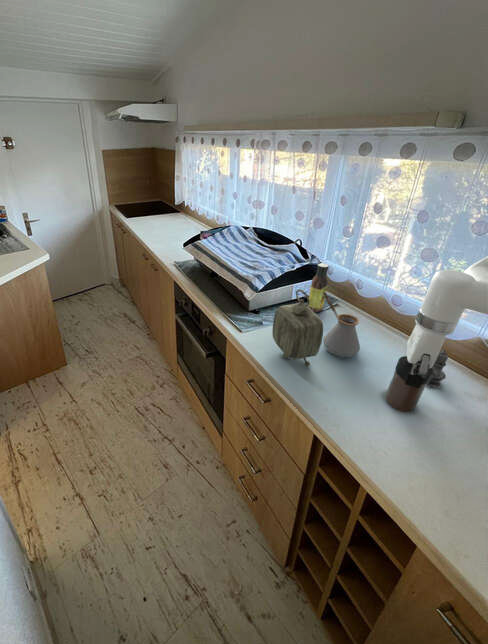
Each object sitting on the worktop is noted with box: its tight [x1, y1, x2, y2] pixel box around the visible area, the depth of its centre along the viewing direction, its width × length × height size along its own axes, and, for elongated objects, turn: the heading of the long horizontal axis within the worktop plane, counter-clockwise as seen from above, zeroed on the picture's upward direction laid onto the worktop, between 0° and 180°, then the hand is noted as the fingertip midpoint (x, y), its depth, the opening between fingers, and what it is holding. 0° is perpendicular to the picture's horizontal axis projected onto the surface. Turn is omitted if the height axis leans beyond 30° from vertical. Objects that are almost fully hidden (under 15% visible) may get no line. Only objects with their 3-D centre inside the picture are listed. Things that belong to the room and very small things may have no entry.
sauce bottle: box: [306, 262, 330, 313], centre depth 125 cm, size 6×6×20 cm
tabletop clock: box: [271, 289, 324, 367], centre depth 97 cm, size 14×9×25 cm, turn 13°
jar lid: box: [394, 355, 433, 385], centre depth 80 cm, size 8×8×3 cm
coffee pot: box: [320, 291, 361, 358], centre depth 106 cm, size 21×12×15 cm, turn 9°
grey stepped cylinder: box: [426, 349, 449, 388], centre depth 90 cm, size 6×6×12 cm
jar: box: [384, 369, 427, 413], centre depth 83 cm, size 7×7×12 cm
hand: (411, 375), depth 81 cm, fingers closed on jar lid, 7 cm apart
